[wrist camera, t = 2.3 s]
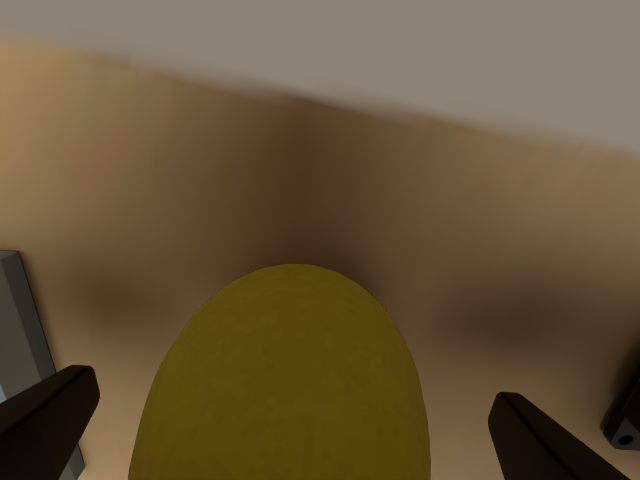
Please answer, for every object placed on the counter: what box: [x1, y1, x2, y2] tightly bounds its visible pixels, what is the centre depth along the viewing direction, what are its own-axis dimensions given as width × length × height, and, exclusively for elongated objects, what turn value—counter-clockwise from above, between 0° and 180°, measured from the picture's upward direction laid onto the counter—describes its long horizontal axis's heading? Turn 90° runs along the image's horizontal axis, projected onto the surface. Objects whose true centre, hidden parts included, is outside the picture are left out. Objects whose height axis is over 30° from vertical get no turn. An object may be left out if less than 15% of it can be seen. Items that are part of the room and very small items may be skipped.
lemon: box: [128, 264, 431, 480], centre depth 7 cm, size 6×6×8 cm
